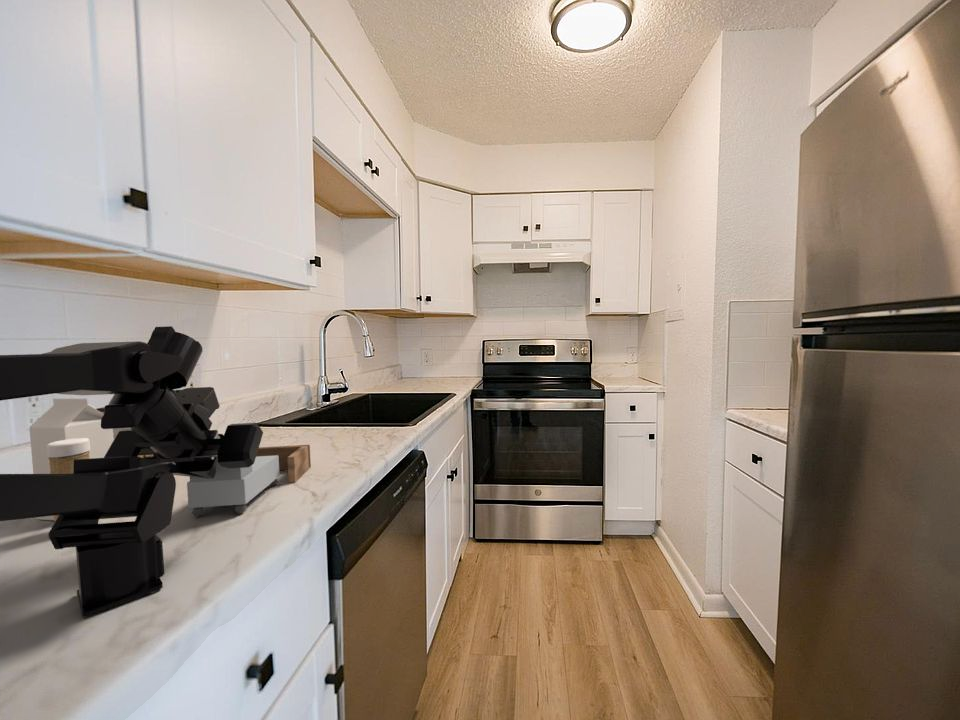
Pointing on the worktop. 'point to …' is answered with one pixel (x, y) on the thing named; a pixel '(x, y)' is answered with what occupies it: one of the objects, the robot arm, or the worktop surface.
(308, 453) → the bay
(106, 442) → the milk carton
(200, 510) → the trolley
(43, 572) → the worktop surface
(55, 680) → the worktop surface
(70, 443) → the sprinkles bottle
